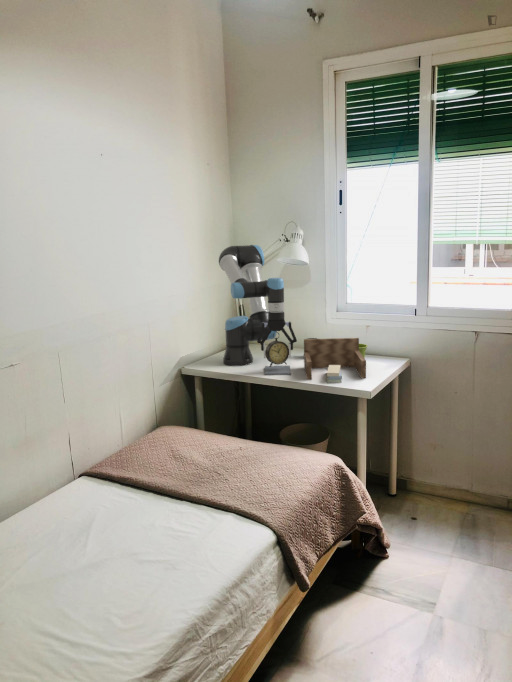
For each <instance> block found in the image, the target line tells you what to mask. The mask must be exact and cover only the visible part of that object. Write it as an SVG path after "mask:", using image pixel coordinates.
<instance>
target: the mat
mask: <svg viewBox="0 0 512 682" xmlns="http://www.w3.org/2000/svg"><path fill="white" fill-rule="evenodd" d="M269 366H270V365H265V366H264V376H282V375H283V376H285V375H291V374H292V373H291V365H288V364H287V365H271V367H269Z"/></svg>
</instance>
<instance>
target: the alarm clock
mask: <svg viewBox="0 0 512 682" xmlns="http://www.w3.org/2000/svg"><path fill="white" fill-rule="evenodd" d="M275 333H276V334H278V335H280V333H279V331H277V332H275ZM275 333H274V334H275ZM274 334H273V338H274ZM279 338H280V336H278V337H275V338H274V339H273V341H271V342H269V343H268V344H267V346H265V355H266V358H265V359H267V361H268V362H269V363H270V364H269V365H268V366H269V367H271V366H273V365H276V366H280V365H282V364H284V365H285V366H287V365H288V364H287V362H286V361H288V359H289V358H290V357H289V345H287V343H286V342H284V341H281V340H278V339H279Z"/></svg>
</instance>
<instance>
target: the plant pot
mask: <svg viewBox="0 0 512 682" xmlns="http://www.w3.org/2000/svg"><path fill="white" fill-rule="evenodd" d="M367 349H368V345H367V344H366V343H359V352H360V353H361V354H362V356H363V357H364V358H365V357H366V352H367V351H366V350H367ZM365 359H366V358H365Z"/></svg>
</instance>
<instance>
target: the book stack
mask: <svg viewBox="0 0 512 682" xmlns="http://www.w3.org/2000/svg"><path fill="white" fill-rule="evenodd" d="M326 369H327V370H326V377H327V378H326V380H327V383H330V384H331V383H339V384H341V383H342V380H343V374H342V370H341V367H340V365H329V367H328V368H326Z"/></svg>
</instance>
